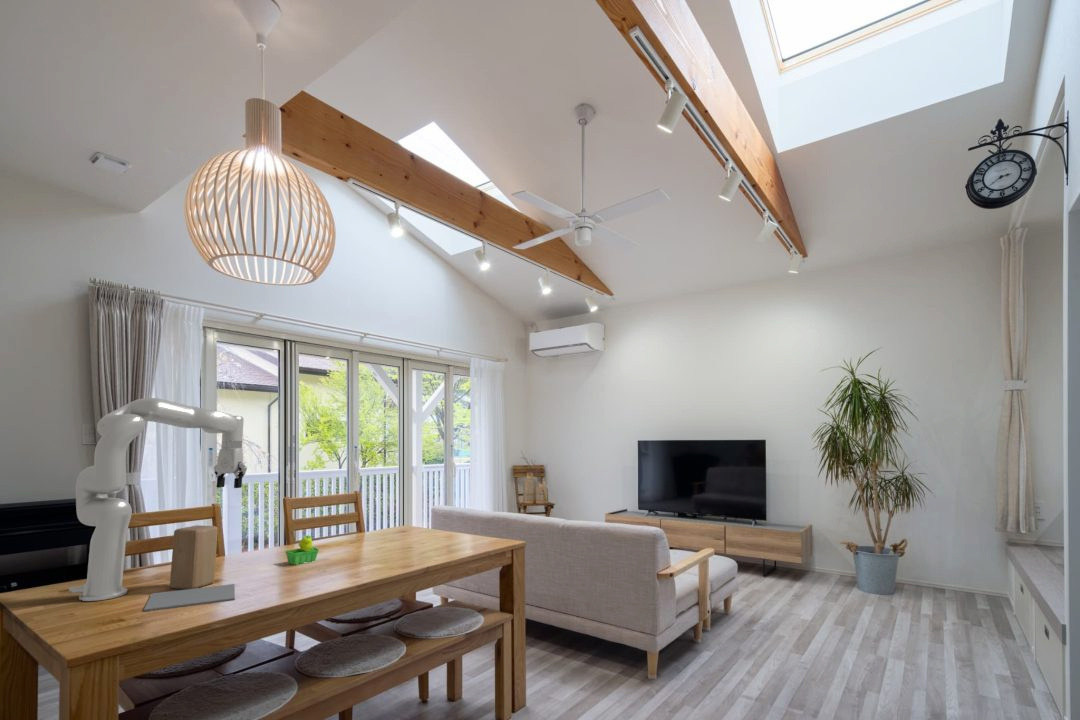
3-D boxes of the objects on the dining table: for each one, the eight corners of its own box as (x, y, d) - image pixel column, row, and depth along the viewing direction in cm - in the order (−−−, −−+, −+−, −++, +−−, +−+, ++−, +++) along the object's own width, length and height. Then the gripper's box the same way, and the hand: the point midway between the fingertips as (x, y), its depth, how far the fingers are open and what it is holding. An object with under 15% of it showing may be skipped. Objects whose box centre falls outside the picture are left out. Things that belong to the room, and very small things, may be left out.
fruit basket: (309, 559, 239) (311, 531, 241) (321, 561, 234) (322, 534, 235) (283, 563, 231) (285, 535, 232) (294, 566, 225) (296, 537, 227)
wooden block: (168, 589, 193) (172, 529, 196) (192, 581, 203) (196, 524, 206) (192, 590, 191) (196, 530, 194) (215, 583, 200) (219, 525, 203)
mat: (143, 611, 168) (143, 609, 168) (151, 595, 186) (152, 593, 186) (234, 600, 180) (234, 598, 180) (234, 585, 197) (234, 583, 197)
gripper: (208, 445, 233) (205, 487, 230) (239, 445, 226) (236, 489, 224) (224, 445, 240) (221, 486, 237) (254, 445, 233) (252, 487, 231)
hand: (229, 487), depth 231 cm, fingers open, 9 cm apart
